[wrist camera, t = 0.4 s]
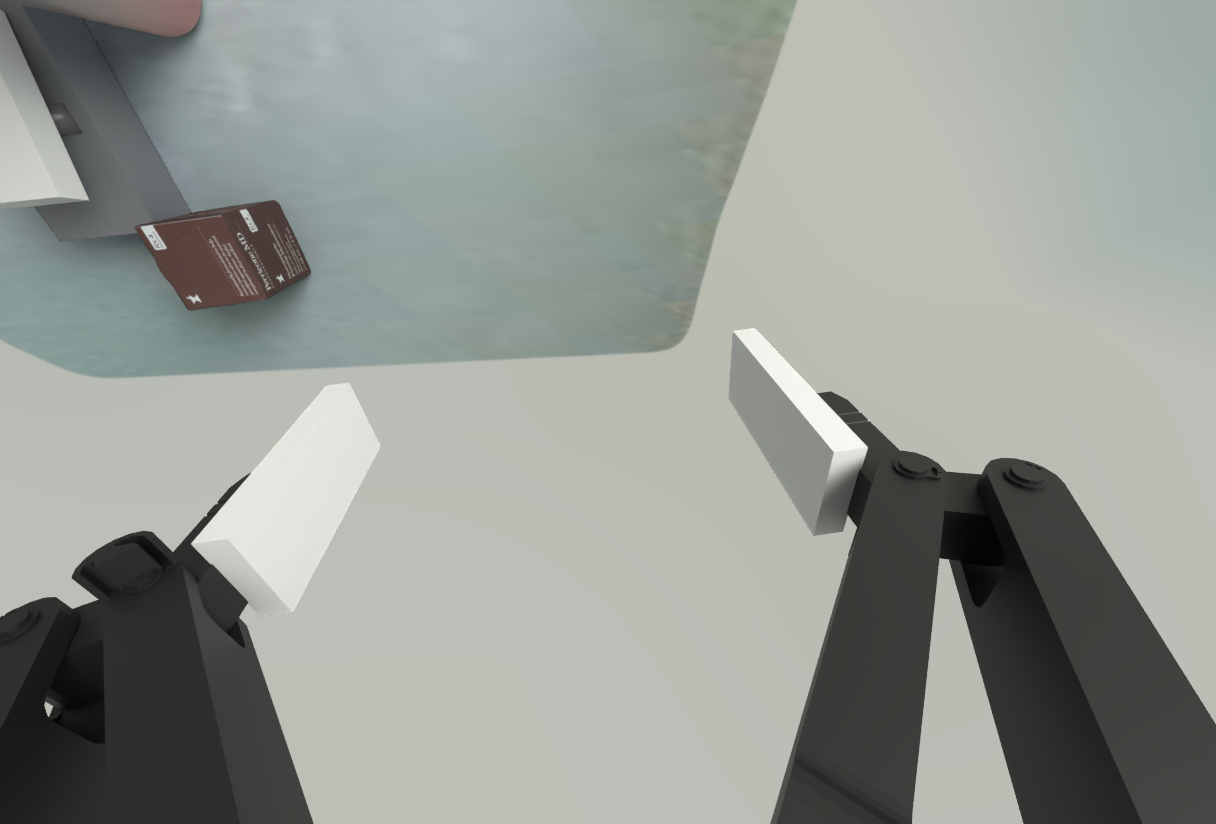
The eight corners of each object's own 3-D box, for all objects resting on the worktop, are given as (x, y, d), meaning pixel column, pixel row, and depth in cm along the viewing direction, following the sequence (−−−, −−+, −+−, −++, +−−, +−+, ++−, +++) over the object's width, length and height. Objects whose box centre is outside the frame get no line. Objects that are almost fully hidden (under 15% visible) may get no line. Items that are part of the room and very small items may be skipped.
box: (314, 273, 39) (269, 302, 33) (245, 283, 39) (187, 313, 33) (278, 198, 36) (220, 213, 29) (202, 208, 35) (128, 226, 29)
